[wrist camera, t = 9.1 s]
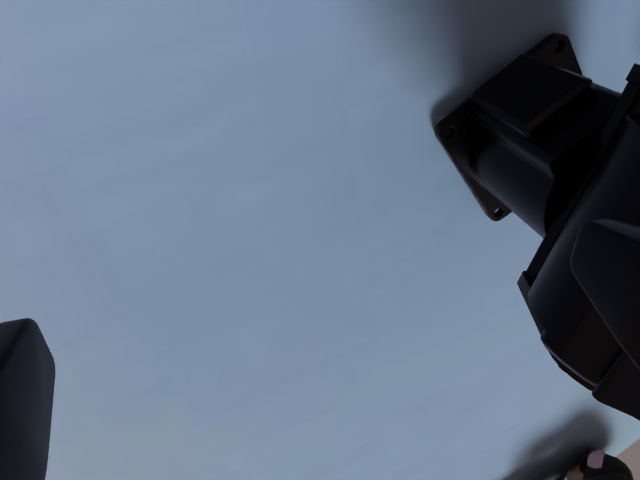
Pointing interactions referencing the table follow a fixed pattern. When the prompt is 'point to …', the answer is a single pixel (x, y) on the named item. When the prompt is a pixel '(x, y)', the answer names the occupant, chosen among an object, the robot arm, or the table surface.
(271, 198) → the table surface
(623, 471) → the toy figure
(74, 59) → the table surface
